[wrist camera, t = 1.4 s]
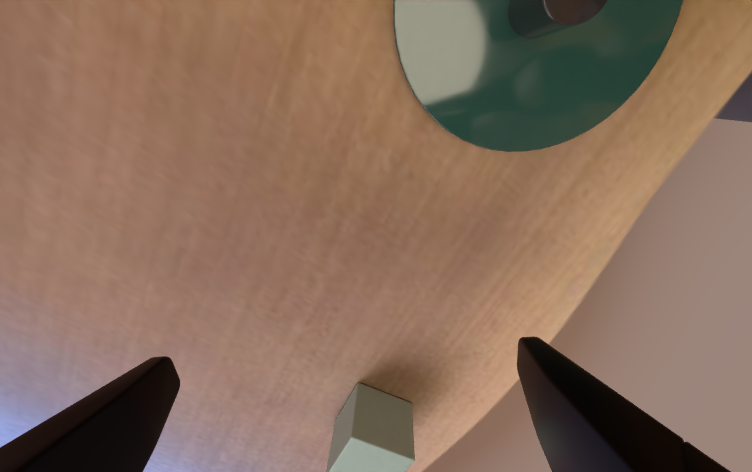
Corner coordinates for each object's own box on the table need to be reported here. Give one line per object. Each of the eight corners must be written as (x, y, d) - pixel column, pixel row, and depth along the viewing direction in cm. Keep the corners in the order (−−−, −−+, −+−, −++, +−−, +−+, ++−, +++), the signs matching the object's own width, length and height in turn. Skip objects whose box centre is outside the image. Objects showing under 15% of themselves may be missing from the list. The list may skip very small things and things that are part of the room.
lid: (736, -71, 15) (888, -140, 11) (556, 186, 20) (606, 217, 15) (482, -241, 14) (529, -411, 9) (351, 82, 18) (337, 82, 14)
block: (412, 402, 27) (415, 460, 23) (386, 439, 29) (385, 499, 24) (358, 381, 26) (351, 437, 22) (334, 420, 28) (324, 478, 24)
